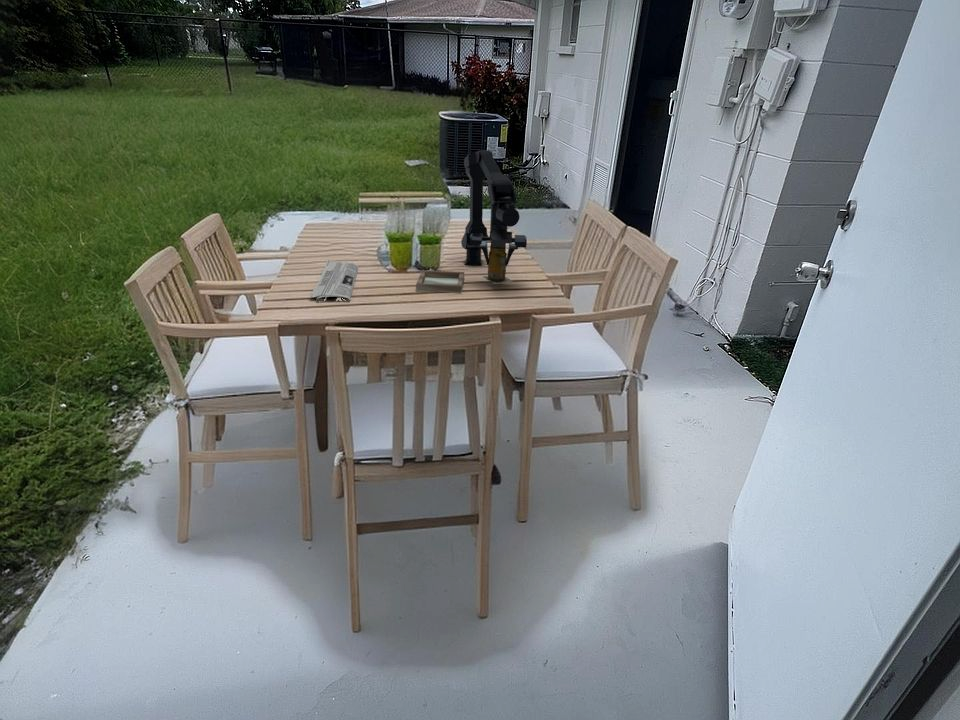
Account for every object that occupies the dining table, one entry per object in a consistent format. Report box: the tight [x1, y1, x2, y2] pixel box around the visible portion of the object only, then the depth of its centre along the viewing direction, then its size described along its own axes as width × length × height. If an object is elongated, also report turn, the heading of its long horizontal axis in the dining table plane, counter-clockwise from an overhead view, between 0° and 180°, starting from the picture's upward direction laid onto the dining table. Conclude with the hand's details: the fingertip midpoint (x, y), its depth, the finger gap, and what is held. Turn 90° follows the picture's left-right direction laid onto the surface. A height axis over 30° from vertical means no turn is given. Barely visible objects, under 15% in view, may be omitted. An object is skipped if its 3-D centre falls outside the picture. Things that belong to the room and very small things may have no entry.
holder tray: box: [415, 269, 465, 294], centre depth 194 cm, size 15×15×2 cm
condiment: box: [482, 244, 513, 285], centre depth 192 cm, size 7×8×12 cm
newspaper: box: [309, 259, 359, 303], centre depth 192 cm, size 35×12×4 cm, turn 6°
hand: (497, 265), depth 193 cm, fingers closed on condiment, 6 cm apart
